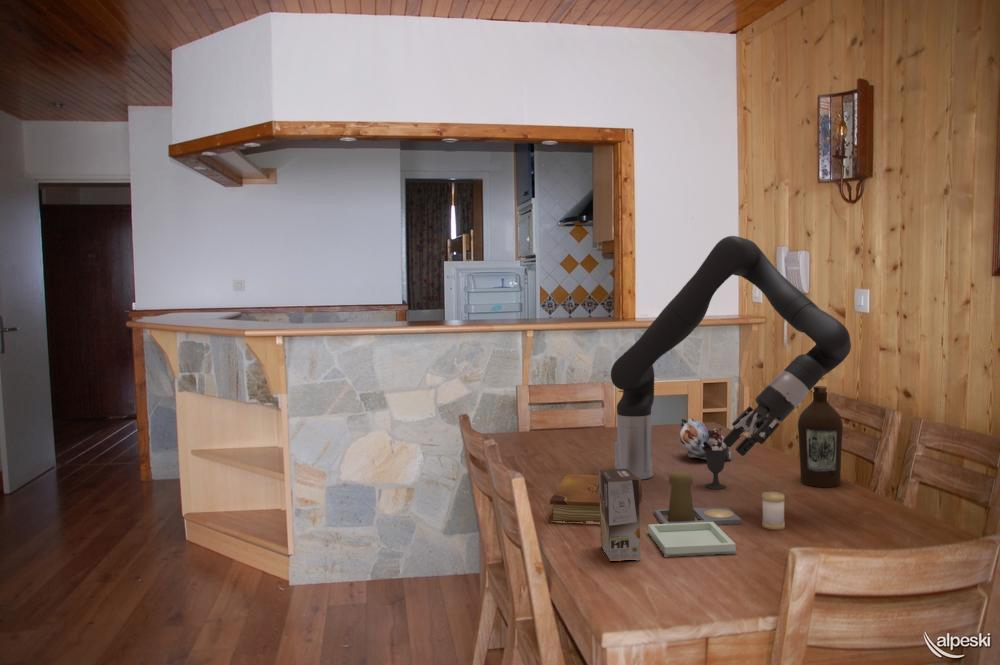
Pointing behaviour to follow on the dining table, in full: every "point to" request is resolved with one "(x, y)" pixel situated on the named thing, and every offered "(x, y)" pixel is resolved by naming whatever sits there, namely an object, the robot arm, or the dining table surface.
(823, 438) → the olive oil
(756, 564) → the dining table surface
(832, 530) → the dining table surface
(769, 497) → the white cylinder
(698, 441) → the lucky cat figurine
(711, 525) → the parts tray
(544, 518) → the dining table surface
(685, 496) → the cork
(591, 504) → the diary
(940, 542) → the dining table surface
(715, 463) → the sundae
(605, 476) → the coffee box
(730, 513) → the socket block
